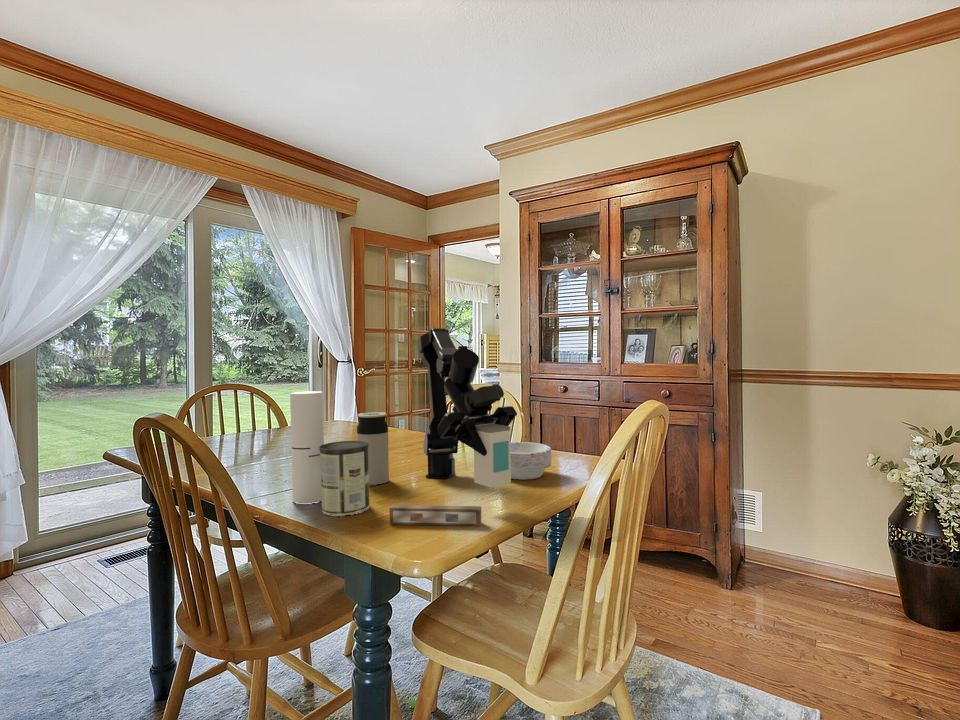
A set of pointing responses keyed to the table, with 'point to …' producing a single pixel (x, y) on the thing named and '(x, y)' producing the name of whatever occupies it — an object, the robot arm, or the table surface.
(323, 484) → the coffee can
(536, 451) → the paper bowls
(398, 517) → the brown wooden bar
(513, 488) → the table surface
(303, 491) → the cylindrical container
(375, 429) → the travel mug
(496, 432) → the carton
